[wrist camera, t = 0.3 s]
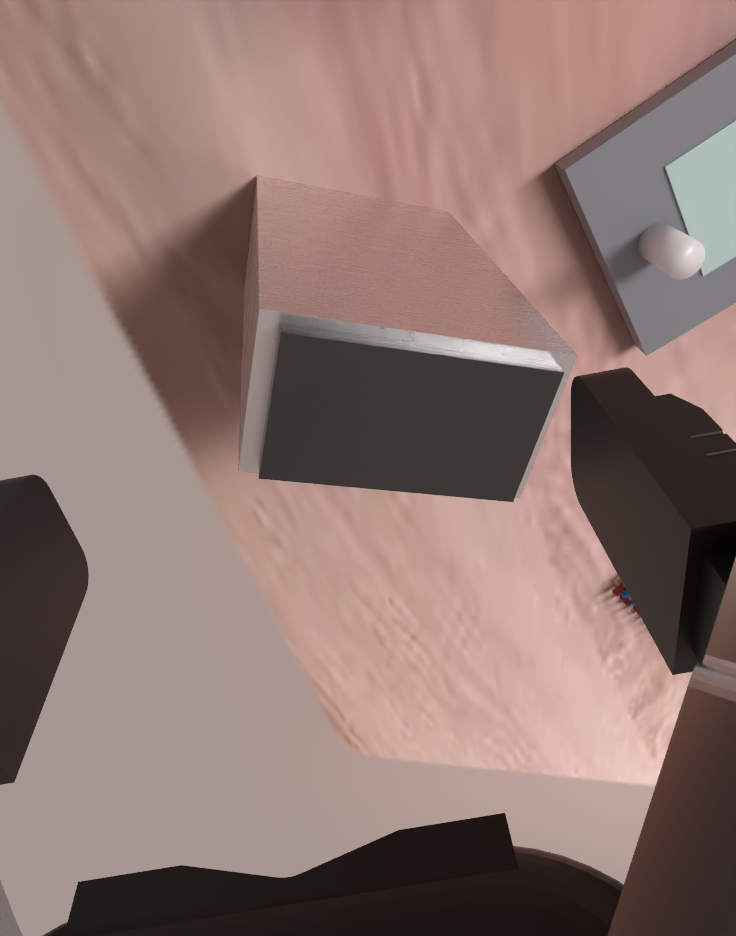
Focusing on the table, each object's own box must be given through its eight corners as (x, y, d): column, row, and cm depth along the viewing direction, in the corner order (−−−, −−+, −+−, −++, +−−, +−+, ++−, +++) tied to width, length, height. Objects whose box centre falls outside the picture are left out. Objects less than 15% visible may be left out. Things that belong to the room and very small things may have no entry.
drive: (257, 175, 27) (259, 319, 15) (449, 212, 29) (586, 365, 17) (244, 285, 29) (238, 484, 18) (422, 313, 31) (526, 510, 19)
